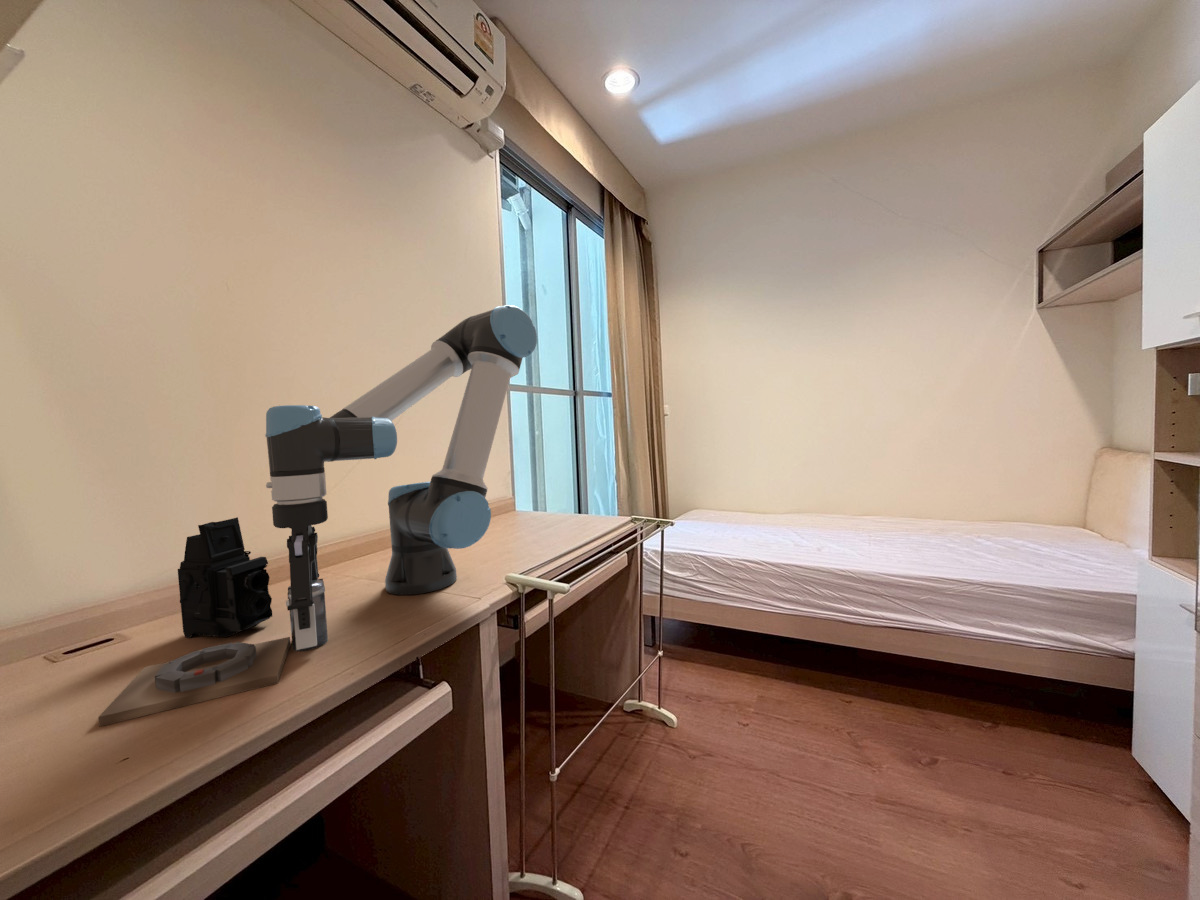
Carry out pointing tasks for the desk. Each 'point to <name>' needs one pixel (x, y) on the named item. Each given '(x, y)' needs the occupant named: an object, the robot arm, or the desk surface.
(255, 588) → the camera
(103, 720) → the mount board
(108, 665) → the desk surface
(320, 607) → the lens
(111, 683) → the desk surface
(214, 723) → the desk surface
